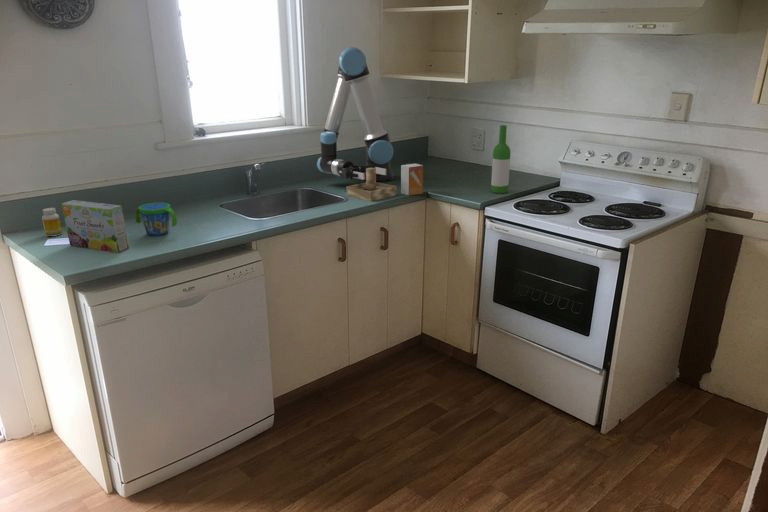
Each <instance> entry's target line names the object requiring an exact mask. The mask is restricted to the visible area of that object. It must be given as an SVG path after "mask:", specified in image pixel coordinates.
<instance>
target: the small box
mask: <svg viewBox="0 0 768 512" xmlns="http://www.w3.org/2000/svg"><path fill="white" fill-rule="evenodd" d="M423 187H424V165H423V164H419V163H407V164H402V165H400V194H402V195H405V196H414V195H422V194H423V193H424V192H423V189H424V188H423Z"/></svg>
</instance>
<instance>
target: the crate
mask: <svg viewBox="0 0 768 512" xmlns="http://www.w3.org/2000/svg"><path fill="white" fill-rule="evenodd" d="M345 191H346V193H345V194H346V196H348V197H352V198H356V199H360V200H363V201H369V202H374V201H377V200H381V199H382V200H383V199H386V198H389V197H394V196H397V185H392V184H386V183H382V182H376V190H375V191H367V190H366V181H365V182H361V183H357V184H353V185H348V186H346V187H345Z"/></svg>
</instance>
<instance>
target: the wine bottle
mask: <svg viewBox="0 0 768 512" xmlns="http://www.w3.org/2000/svg"><path fill="white" fill-rule="evenodd" d="M507 126H508V125H505V124H500V125H499V135H498V144H496V145H495V147H494V148H493V151H492V162H491V163H492V164H491V179H490V180H491V182H490V183H491V184H490V191H491V192H492V193H494V194H506V193H508V191H509V184H510V183H509V181H510V180H509V179H510V169H511V168H510V165H511V164H510V163H511V148H510V147H509V145H508V144H507Z"/></svg>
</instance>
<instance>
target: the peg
mask: <svg viewBox="0 0 768 512" xmlns="http://www.w3.org/2000/svg"><path fill="white" fill-rule="evenodd" d="M365 182H366V190H367V191H375V190H376V168H366V180H365Z"/></svg>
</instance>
